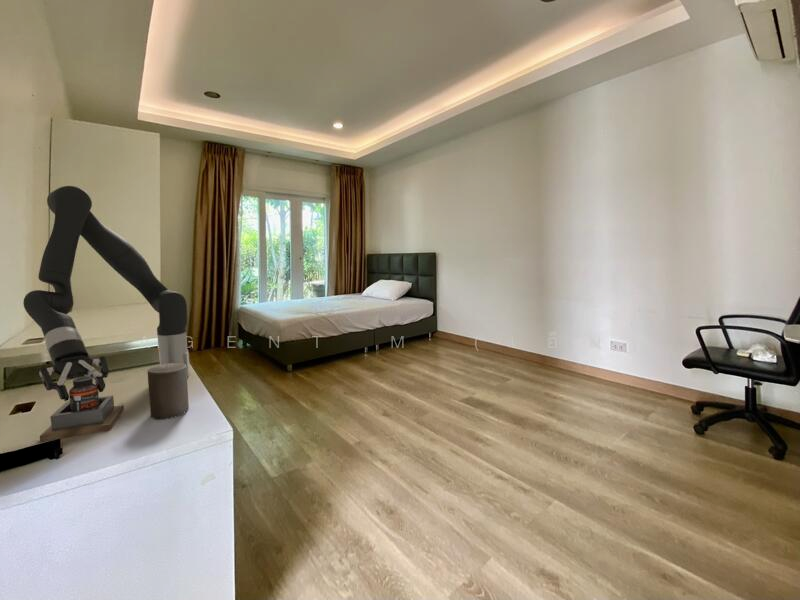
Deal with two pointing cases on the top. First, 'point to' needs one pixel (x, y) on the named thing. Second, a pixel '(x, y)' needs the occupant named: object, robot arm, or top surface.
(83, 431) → the socket board
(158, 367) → the pillar candle
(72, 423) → the grey square tray
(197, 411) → the top surface
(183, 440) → the top surface
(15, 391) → the top surface
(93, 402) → the supplement bottle
